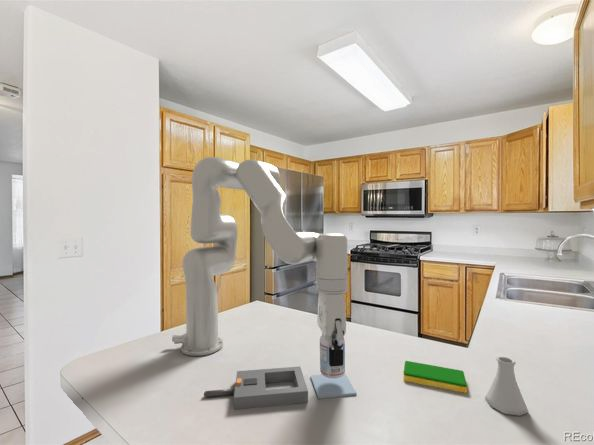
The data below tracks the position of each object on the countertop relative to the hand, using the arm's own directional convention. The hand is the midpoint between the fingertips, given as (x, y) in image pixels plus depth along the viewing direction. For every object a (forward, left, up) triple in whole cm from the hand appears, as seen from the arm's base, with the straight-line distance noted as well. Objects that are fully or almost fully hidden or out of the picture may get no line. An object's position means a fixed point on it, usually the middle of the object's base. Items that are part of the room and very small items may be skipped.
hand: (332, 357), depth 70 cm
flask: (+35, -13, -7) cm, 38 cm away
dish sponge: (+26, -1, -7) cm, 27 cm away
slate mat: (0, 0, -7) cm, 7 cm away
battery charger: (-19, 0, -7) cm, 20 cm away
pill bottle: (0, 0, -4) cm, 4 cm away
